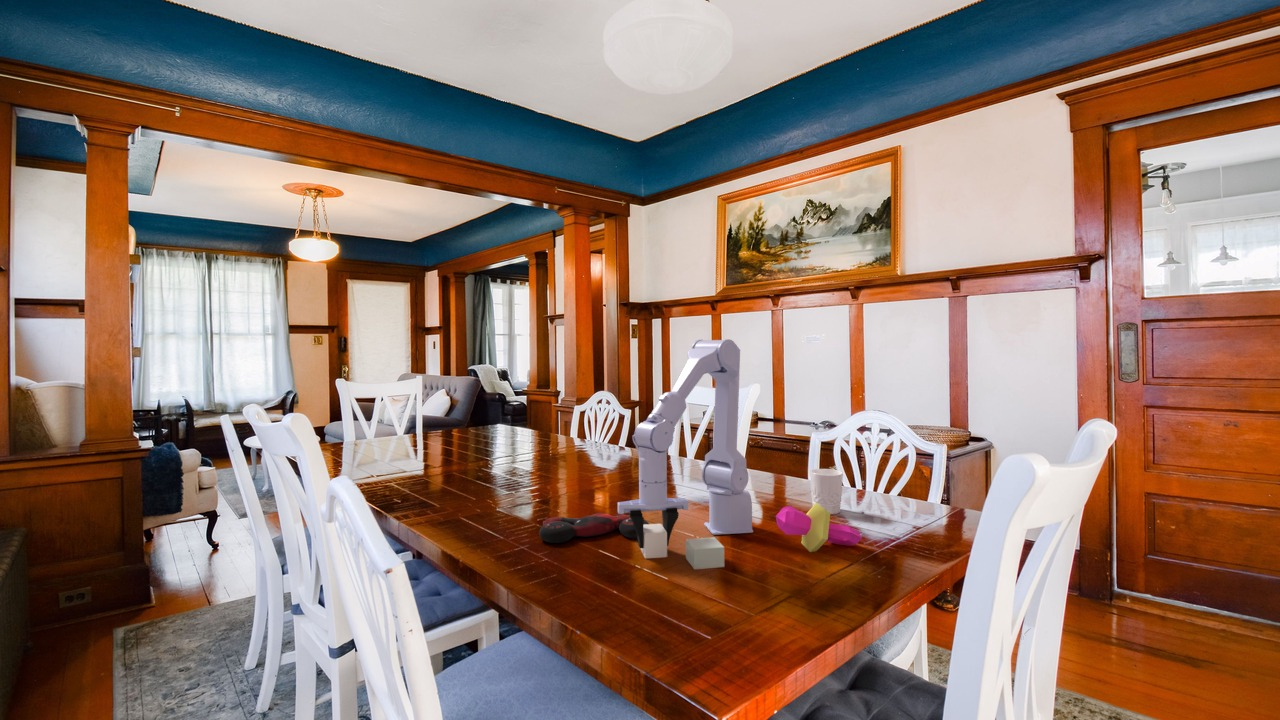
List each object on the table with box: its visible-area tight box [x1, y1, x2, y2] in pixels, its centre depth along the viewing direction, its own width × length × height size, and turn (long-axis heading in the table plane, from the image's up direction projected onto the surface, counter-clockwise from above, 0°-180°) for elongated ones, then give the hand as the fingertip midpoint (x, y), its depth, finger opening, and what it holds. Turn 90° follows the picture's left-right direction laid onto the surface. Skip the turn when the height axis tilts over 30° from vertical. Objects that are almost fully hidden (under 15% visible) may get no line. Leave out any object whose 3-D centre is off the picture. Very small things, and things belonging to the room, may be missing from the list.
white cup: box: [810, 468, 843, 515], centre depth 149 cm, size 8×8×10 cm
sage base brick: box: [685, 536, 725, 570], centre depth 115 cm, size 6×6×4 cm
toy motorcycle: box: [538, 512, 650, 544], centre depth 134 cm, size 25×5×16 cm
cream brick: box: [639, 523, 668, 560], centre depth 120 cm, size 4×6×5 cm
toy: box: [775, 503, 863, 553], centre depth 122 cm, size 10×18×10 cm, turn 93°
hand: (653, 545), depth 120 cm, fingers closed on cream brick, 5 cm apart
